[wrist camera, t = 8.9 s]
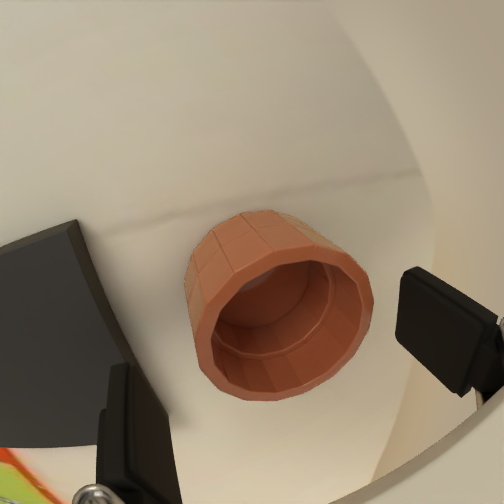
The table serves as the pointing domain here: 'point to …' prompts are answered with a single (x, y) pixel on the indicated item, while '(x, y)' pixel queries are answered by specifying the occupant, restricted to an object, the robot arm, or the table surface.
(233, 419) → the table surface
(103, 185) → the table surface
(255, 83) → the table surface
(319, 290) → the small bowl
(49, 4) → the table surface
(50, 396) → the scale
